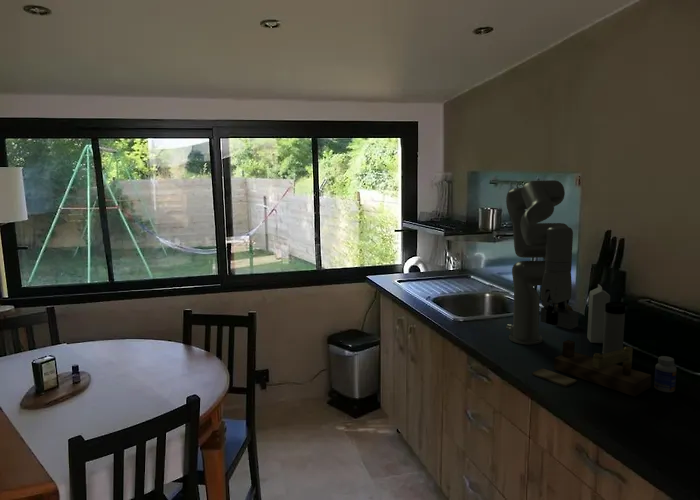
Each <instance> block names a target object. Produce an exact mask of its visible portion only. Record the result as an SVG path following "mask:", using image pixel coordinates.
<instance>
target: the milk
mask: <svg viewBox="0 0 700 500" xmlns="http://www.w3.org/2000/svg"><path fill="white" fill-rule="evenodd" d="M609 302H611V295H610V294H609V293H608V292H607V291H606V290H604V289H603V286H601V284H599V283H598V284H597V287H596V288H594V289H592V290H590V291H589V295H588V316H587V334H586V335H587V336H586V337H587V340H588V341H589V342H590V343H591V344H592V343H594V344H603V335H604V317H605V305H606V303H609Z"/></svg>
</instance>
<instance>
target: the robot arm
mask: <svg viewBox="0 0 700 500" xmlns="http://www.w3.org/2000/svg"><path fill="white" fill-rule="evenodd" d="M565 194H566V193H565V187H564V185H563V184H562V182H560V181H559V180H556V179H555V180H553V179H551V180H548V179H547V180H531V181H528V182H526V183H525V184H523V186H522V187H516V188H512V189H510V190H508V192H507V193H506V196H505V197H506V198H505V199H506V201H505V202H506V203H505V204H506V209H507V212H508V215H509V218H510V220H511V223H512V234H513V246H514V252H515V254H516V257H518V258H523V259H525V258H526V259H529V258H530V259H531V258H532V259H533V258H535V259H538V258H541V259H543V260H522V261H517V262H515V263H514V264H513V266H512V267H511V274H512V283H513V316H512V317H513V318H512V319H513V320H512V323H513V324H511V323H508V324H506V327H505V330H506V331H508V332H510V334H509V335H508V339H509V340H510V341H511V342H512V343H515V344H520V345H528V346H533V345H540V344H541V343H542V342H543V339H544V338H543V337H542V335H540V334H539V333H540V332H539V331H540V328H539V327H540V326H539V325H540V304H541V306H542V307H544V308H545V311H546V323H545V324H547V325H550V326H551V325H552V326H556V319H557V313H555V312H556V306H557V307H558V308H563V309H567V304H568V305H569V302H570V300H571V298H572V289H573V288H572V286H573V285H572V284H573V283H572V263H573V242H574V241H573V240H574V238H573V237H574V231H573V228H571V227H569V225H567V224H566V223H564V222H551V223H550V222H543V221H546V220H548V219H549V218H550V217H551V216H552V215H553V214H554V212H555V211H554V210H555V207H556V206H558V205H560V204H562V202H563V200H564V199H565V196H566V195H565ZM541 222H542V223H541ZM535 286H541V290H540V295H539V293H538V292H537V290H536V289H535V288H534V287H535ZM540 301H541V302H540ZM552 306H553V308H552Z"/></svg>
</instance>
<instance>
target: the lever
mask: <svg viewBox="0 0 700 500" xmlns="http://www.w3.org/2000/svg"><path fill="white" fill-rule="evenodd" d="M633 351H634V349H633V347H632V346H627V345H625V346H624V345H623V349H620V350H616V351H613V352H609V353H605V354H602V353H598V352H595V353H594V354H593V356H592V357H593V367H595V368H598V369H599V368H603V367H607V366H610V365H614V364H617V365H618V364H620V363H622V365H621V366H622V373H623V374H625V375H631V369H632V367H633V365H632V364H633Z"/></svg>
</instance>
